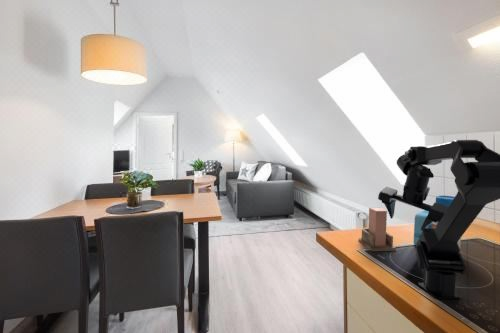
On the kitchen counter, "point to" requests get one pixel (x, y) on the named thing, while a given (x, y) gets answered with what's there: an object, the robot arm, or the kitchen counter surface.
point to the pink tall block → (378, 225)
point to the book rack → (369, 241)
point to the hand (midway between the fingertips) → (406, 223)
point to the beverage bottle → (445, 201)
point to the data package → (420, 224)
